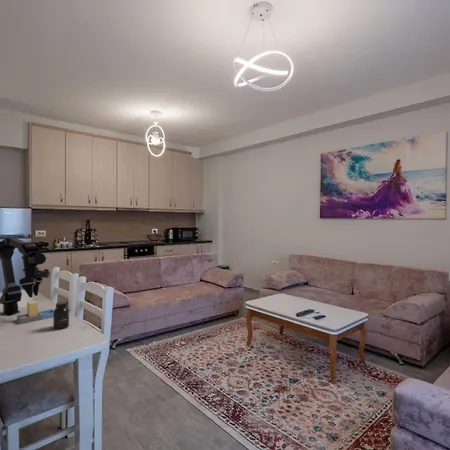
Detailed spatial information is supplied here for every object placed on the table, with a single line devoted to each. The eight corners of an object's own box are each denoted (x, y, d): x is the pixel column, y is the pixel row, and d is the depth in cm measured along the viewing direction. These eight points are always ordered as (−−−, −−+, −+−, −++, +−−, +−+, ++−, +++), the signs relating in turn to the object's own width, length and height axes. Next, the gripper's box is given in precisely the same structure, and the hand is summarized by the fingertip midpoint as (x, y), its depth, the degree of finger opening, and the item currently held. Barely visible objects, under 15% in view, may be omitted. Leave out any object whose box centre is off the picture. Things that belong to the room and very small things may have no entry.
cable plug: (29, 321, 161) (29, 303, 161) (27, 319, 164) (27, 302, 163) (38, 319, 164) (38, 302, 163) (36, 317, 166) (36, 300, 166)
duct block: (20, 324, 156) (20, 319, 156) (17, 320, 162) (17, 315, 162) (62, 315, 170) (62, 310, 170) (57, 312, 176) (57, 307, 175)
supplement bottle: (62, 330, 148) (62, 305, 148) (50, 329, 150) (49, 304, 149) (72, 325, 155) (72, 301, 155) (60, 324, 156) (60, 300, 156)
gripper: (42, 263, 155) (46, 295, 154) (51, 263, 172) (55, 291, 171) (17, 267, 151) (20, 299, 150) (29, 267, 169) (32, 295, 168)
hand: (33, 296), depth 160 cm, fingers open, 9 cm apart
